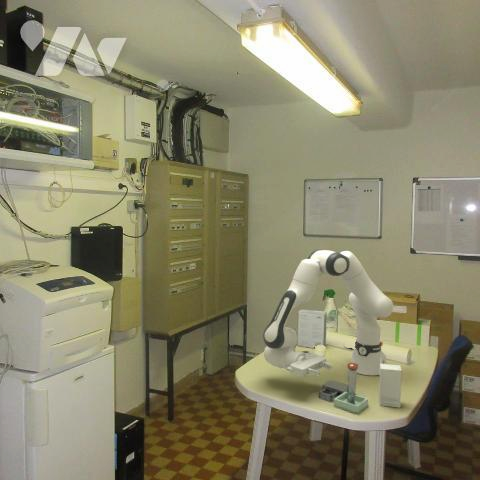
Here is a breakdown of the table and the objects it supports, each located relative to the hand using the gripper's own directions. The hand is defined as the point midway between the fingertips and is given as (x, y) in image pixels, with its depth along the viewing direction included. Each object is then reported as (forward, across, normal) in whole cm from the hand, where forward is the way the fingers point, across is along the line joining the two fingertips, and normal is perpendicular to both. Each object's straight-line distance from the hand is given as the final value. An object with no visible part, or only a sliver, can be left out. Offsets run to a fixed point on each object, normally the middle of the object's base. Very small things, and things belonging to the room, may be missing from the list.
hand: (325, 370), depth 188 cm
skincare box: (+22, +13, +12) cm, 29 cm away
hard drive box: (-40, +58, +12) cm, 72 cm away
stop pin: (+12, 0, +11) cm, 16 cm away
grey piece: (+1, +6, +12) cm, 13 cm away
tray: (+12, 0, +12) cm, 17 cm away
